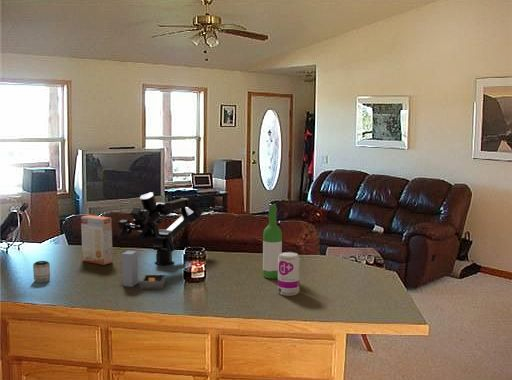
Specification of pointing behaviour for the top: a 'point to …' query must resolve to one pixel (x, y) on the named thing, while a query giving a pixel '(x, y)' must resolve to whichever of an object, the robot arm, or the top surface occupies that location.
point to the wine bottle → (271, 246)
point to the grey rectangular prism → (130, 268)
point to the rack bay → (153, 282)
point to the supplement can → (288, 273)
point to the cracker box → (96, 239)
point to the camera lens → (41, 271)
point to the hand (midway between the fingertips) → (126, 239)
